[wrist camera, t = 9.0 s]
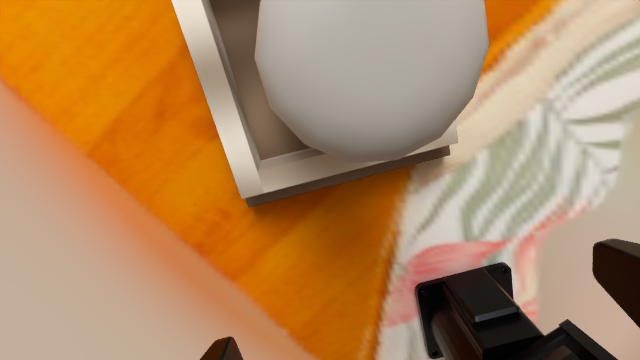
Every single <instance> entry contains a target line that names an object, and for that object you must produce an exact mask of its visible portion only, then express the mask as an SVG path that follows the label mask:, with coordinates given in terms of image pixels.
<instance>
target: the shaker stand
mask: <svg viewBox="0 0 640 360" xmlns="http://www.w3.org/2000/svg"><path fill="white" fill-rule="evenodd" d="M260 1H261V0H172V3H173V6H174V9H175V12H176V14H177V17H178V20H179V23H180V26H181V29H182V31H183V34H184V37H185V40H186V43H187V46H188V48H189V51H190V54H191V57H192V60H193V63H194V65H195V68H196V71H197V74H198V77H199V80H200V82H201V85H202V88H203V91H204V94H205V97H206V99H207V102H208V105H209V108H210V111H211V114H212V116H213V119H214V122H215V125H216V128H217V131H218V133H219V136H220V139H221V142H222V145H223V148H224V150H225V153H226V156H227V159H228V162H229V165H230V167H231V170H232V173H233V176H234V179H235V182H236V184H237V187H238V190H239V193H240V196H241V198H242V199H244V198H245V199H246V202H247V204H248V207H253V206H256V205H260V204H264V203H268V202H272V201H276V200H279V199H283V198H287V197H291V196H295V195H299V194H303V193H306V192H310V191H314V190H318V189H322V188H326V187H329V186H333V185H337V184H341V183H345V182H349V181H352V180H356V179H360V178H364V177H368V176H372V175H375V174H379V173H383V172H387V171H391V170H395V169H399V168H402V167H406V166H410V165H414V164H418V163H422V162H425V161H429V160H433V159H437V158H441V157H445V156H448V155H450V149H449V145H451V144H455V143H458V137H457V129H456V120H454V122H453V123H452V124H451V125H450V127H449V128H448V129H447V130H446V132H445V133H444V134H443V135H442V137H441V138H439V139H437V140H435V141H433V142H431V143H429V144H427V145H425V146H423V147H421V148H420V149H418V150H416V151H414V152H412V153H410V154H408V155H406V156H404V157H402V158H400V159H398V160H388V161H376V162H363V163H349V162H346V161H344V160H342V159H339V158H337V157H334V156H332V155H329V154H327V153H324V152H322V151H319V150H317V149H315V148H312V147H310V146H307V145H306V144H304V143H303V142H302V141H301V140H300V139H299V138H298V137H297V136H296V135H295V134H294V133H293V132H292V130H291V129H290V128H289V127H288V126H287V125H286V124H285V123H284V122H283V121H282V120H281V119H280V118H279V117H278V116H277V115H276V114H275V113H274V112H273V111H272V109H271V108H270V106H269V103H268V100H267V97H266V94H265V90H264V87H263V84H262V81H261V78H260V74H259V71H258V68H257V65H256V62H255V58H254V57H255V47H256V37H257V27H258V17H259V7H260Z"/></svg>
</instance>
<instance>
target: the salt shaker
mask: <svg viewBox="0 0 640 360" xmlns="http://www.w3.org/2000/svg"><path fill="white" fill-rule="evenodd" d="M488 48H489V39H488V30H487V22H486V13H485V5H484V0H261V1H260V7H259V17H258V27H257V37H256V47H255V57H254V58H255V62H256V65H257V68H258V71H259V74H260V78H261V81H262V84H263V87H264V90H265V94H266V97H267V100H268V103H269V106H270V108H271V109H272V111H273V112H274V113H275V114H276V115H277V116H278V117H279V118H280V119H281V120H282V121H283V122H284V123H285V124H286V125H287V126H288V127H289V128H290V129H291V130H292V132H293V133H294V134H295V135H296V136H297V137H298V138H299V139H300V140H301V141H302V142H303V143H304V144H306V145H307V146H310V147H312V148H315V149H317V150H319V151H322V152H324V153H327V154H329V155H332V156H334V157H337V158H339V159H342V160H344V161H346V162H349V163H363V162H376V161H388V160H398V159H400V158H402V157H404V156H406V155H408V154H410V153H412V152H414V151H416V150H418V149H420V148H421V147H423V146H425V145H427V144H429V143H431V142H433V141H435V140H437V139H439V138H441V137H442V135H443V134H444V133H445V132H446V130H447V129H448V128H449V127H450V125H451V124H452V123H453V122H454V120H455V119H456V118H457V117H458V115H459V114H460V113H461V112H462V110H463V109H464V108H465V107H466V105H467V104H468V103H469V102H470V100H471V99H472V98H473V96H474V92H475V89H476V86H477V83H478V80H479V77H480V73H481V70H482V67H483V64H484V61H485V58H486V54H487V51H488Z"/></svg>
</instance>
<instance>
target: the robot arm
mask: <svg viewBox="0 0 640 360" xmlns="http://www.w3.org/2000/svg"><path fill="white" fill-rule="evenodd" d="M592 268H593V269H592V270H593V275H594V277H595V279H596V280H597V282H598V283H599V284H600V285H601V286H602V287H603V288H604V289H605V290H606V292H607V293H608V294H609V295H610V296H611V297H612V298H613V299H614V300H615V301H616V303H617V304H618V305H619V306H620V307H621V308H622V309H623V310H624V311H625V312H626V314H627V315H628V316H629V317H630V318H631V319H632V320H633V321H634V322H635V323H636V325H637V326H638V327H639V328H640V244H638V243H633V242H628V241H624V240H619V239H607V240H604V241H600V242H597V243H595V244H594V246H593V267H592ZM502 269H504V270H503V271H502V272H500V271H501V270H502ZM423 289H426V290H425V291H424V292H421V291H422V290H423ZM415 292H416V297H417V303H418V308H419V313H420V319H421V324H422V329H423V335H424V340H425V345H426V350H427V353H428V355H429V357H430V358H432V359H437V358H441V357H444V358H445V360H618V359H616V358H615V357H614V356H613V355H611V354H610V353H609V352H608V351H606V350H605V349H604V348H603V347H602V346H600V345H599V344H598V343H596V342H595V341H594V340H593V339H592V338H590V337H589V336H588V335H587V334H585V333H584V332H583V331H582V330H580V329H579V328H578V327H577V326H576V325H574V324H573V323H572V322H571V321H569V320H568V319H567V320H565V321H564V322H562V323H561V324H559V327H558V328H556V329H555V330H553V331H551V332H550V333H548V334H547V335H544V334H543V333H542V332H541V331H540V330H539V329H538V328H537V327H536V326H535V324H534V323H533V322H532V321H531V320H530V319H529V318H528V317H527V316H526V315H525V314H524V312H523V311H522V310H521V309H520V307H519V306H518V305H517V304H516V303H515V301H514V300H513V288H512V274H511V268H510V267H509V266H508V265H507V264H506V263H503V262H502V263H497V264H493V265H489V266H485V267H481V268H477V269H473V270H469V271H465V272H462V273H458V274H454V275H450V276H446V277H442V278H438V279H434V280H430V281H426V282H422V283H420V284H418V285H417V286H416V288H415ZM433 351H435V352H433ZM200 360H243V358H242V356H241V353H240V351H239V348H238V346H237V344H236V341H235V340H234V338H233V337H225V338H222V339H218V340H216V341H215V342H214V343H213V344H212V345H211V346H210V347H209V349H208V350H207V351H206V352H205V354H204V355H203V356H202V358H201V359H200Z"/></svg>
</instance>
